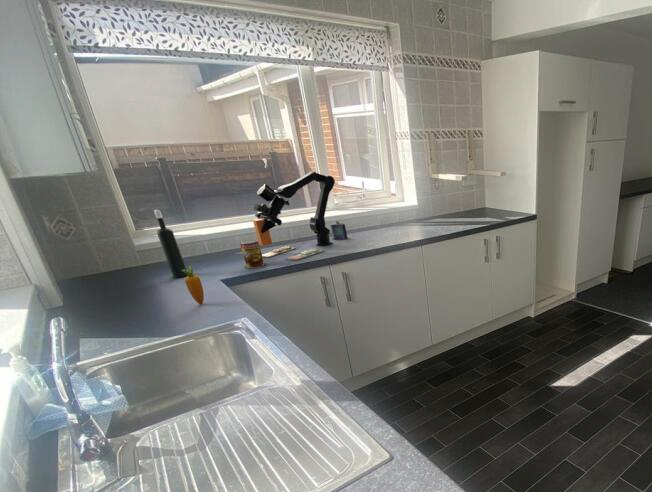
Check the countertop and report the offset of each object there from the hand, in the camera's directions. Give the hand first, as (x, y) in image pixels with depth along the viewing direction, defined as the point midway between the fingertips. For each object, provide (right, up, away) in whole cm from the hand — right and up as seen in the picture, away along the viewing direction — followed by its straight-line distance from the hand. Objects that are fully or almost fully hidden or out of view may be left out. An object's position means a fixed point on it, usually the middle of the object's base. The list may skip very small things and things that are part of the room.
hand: (259, 232), depth 218 cm
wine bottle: (-24, -26, -22) cm, 42 cm away
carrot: (+10, -42, -57) cm, 71 cm away
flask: (+27, +6, +41) cm, 50 cm away
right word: (+21, -11, +7) cm, 24 cm away
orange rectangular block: (+1, -5, +4) cm, 7 cm away
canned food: (+3, -19, -9) cm, 21 cm away
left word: (+2, -8, +14) cm, 16 cm away
